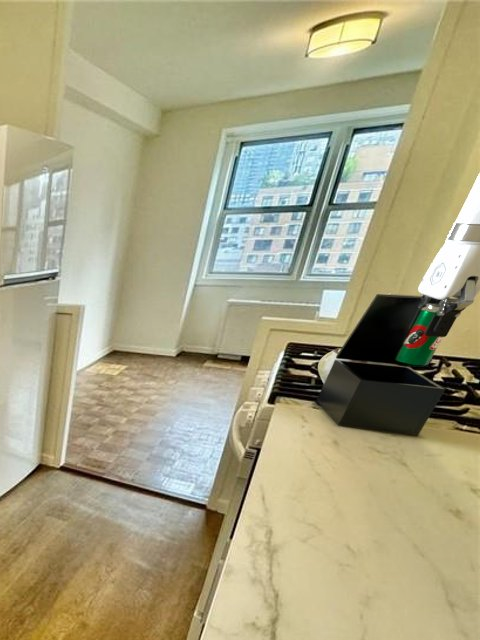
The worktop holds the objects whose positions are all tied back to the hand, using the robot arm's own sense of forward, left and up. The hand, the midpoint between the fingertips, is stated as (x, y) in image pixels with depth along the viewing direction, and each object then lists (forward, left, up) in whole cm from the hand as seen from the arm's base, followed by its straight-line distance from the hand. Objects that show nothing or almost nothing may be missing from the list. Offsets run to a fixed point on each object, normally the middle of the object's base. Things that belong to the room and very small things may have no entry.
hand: (427, 331), depth 98 cm
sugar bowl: (-1, -23, -21) cm, 32 cm away
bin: (+1, -5, -21) cm, 22 cm away
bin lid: (+1, -9, -2) cm, 10 cm away
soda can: (0, 0, -7) cm, 7 cm away
